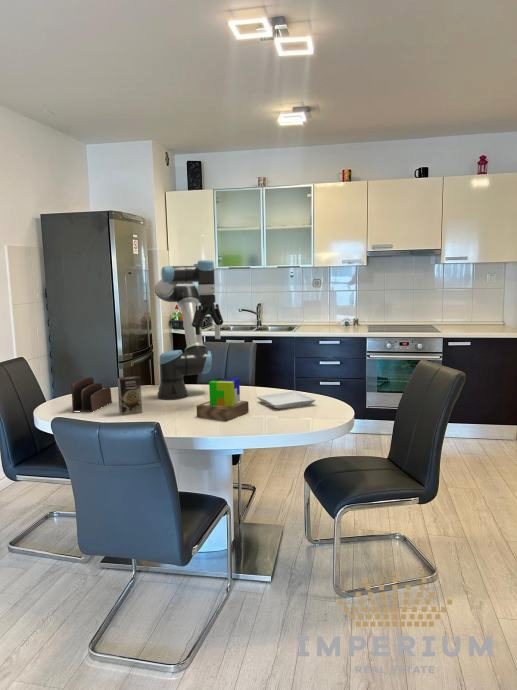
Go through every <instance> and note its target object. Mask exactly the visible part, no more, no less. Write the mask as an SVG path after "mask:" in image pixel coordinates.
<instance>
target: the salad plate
mask: <svg viewBox="0 0 517 690" xmlns="http://www.w3.org/2000/svg"><path fill="white" fill-rule="evenodd" d="M256 398H257V399H258V400H259V401H260V402H262V403H264V404H266V405H268V406H270V407H272V408H274V409H277V410H278V409H279V410H281V409H282V408H283V409H289V408H290V407H291V408H296V407H297V406H298V407H304V406H308V405H311V404H313V403H314V402H316V399H315V398H314V397H311V396H308V395H307V394H303V393H301V392H298V391H296V390H293V391H284V392H276V393H271V394H264V395H256ZM298 407H297V408H298ZM283 409H282V410H283Z"/></svg>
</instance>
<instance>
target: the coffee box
mask: <svg viewBox="0 0 517 690" xmlns="http://www.w3.org/2000/svg"><path fill="white" fill-rule="evenodd" d="M141 383H142V382H141V377H140V376H137V375H133V376H123V377H117V389H118V390H117V392H118V393H117V395H118V412H119V414H120V415H122V416H128V415H134V414H135V413H136V414H141V413H143V404H142V385H141ZM136 414H135V415H136Z"/></svg>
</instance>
